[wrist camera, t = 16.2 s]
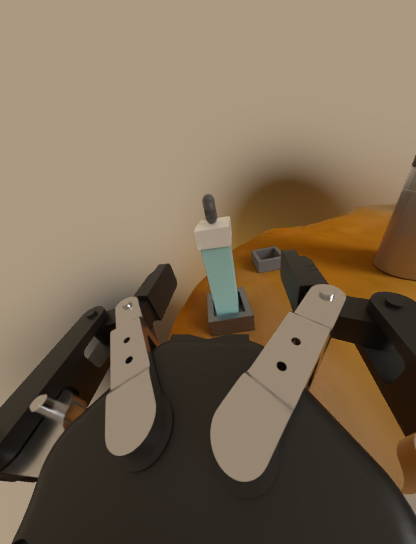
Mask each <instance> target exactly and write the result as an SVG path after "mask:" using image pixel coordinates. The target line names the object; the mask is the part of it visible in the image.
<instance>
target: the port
mask: <svg viewBox="0 0 416 544" xmlns="http://www.w3.org/2000/svg"><path fill="white" fill-rule="evenodd" d="M237 293H238V300H239V313H233V314H227V315H221V316H217V313H216V309H215V305H214V301H213V297H212V293H207V305H208V323H209V326H210V330H211V333H212V336H219V335H225V334H231V333H238V332H244V331H250V330H255V328H254V315H253V312H252V309H251V307H250V304H249V301H248V298H247V295H246V293H245V290H244V287H240V288H237Z"/></svg>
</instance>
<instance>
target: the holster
mask: <svg viewBox="0 0 416 544" xmlns="http://www.w3.org/2000/svg"><path fill="white" fill-rule="evenodd" d="M251 254H252V262H253V263H254V265H255V267H256V269H257V271H258V272H259V273H262V272H268V271H273V270H278V269H280V266H281V251H280V250H279V249H278V248H277V247H276V246H272V247H267V248H262V249H257V250H252V251H251Z"/></svg>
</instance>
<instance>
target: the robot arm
mask: <svg viewBox="0 0 416 544" xmlns="http://www.w3.org/2000/svg"><path fill="white" fill-rule="evenodd" d="M373 263H374V265H375V266H376V267H377V268H378V269H380V270H381V271H383V272H385V273H388V274H390V275H393V276H397V277H400V278H405V279H411V280H416V156H415V159H414V161H413V163H412V166H411V169H410V172H409V174H408V176H407V179H406V181H405V184H404V186H403V189H402V192H401V194H400V197H399V199H398V202H397V204H396V206H395V209H394V211H393V214H392V216H391V219H390V221H389V224H388V226H387V229H386V231H385V234H384V236H383V239H382V241H381V243H380V246H379V248H378V251H377V253H376V256H375V258H374V261H373ZM280 274H281V279H282V282H283V285H284V288H285V290H286V293H287V296H288V299H289V301H290V304H291V307H292V310H293V312H292V311H290V312H289V313H288V314H287V316H286V317H285V319H284V320H283V322H282V323H281V324H280V326H279V327H278V329H277V330H276V332H275V333H274V334H273V336H272V337H271V339H270V340H269V342H268V343H267V345H266V346H265V347H264V346H262V345H260V344H257V343H255V342H252V341H249V334H228V335H224V336H220V337H216V338H211V339H204V338H200V337H196V336H193V335H172V336H171V339H170V341H168V342H165V343H163V344H160V341H159V338H158V335H157V332H156V329H155V326H154V324H153V322H154V321H156V320H162V318H163V316H164V313H165V311H166V309H167V307H168V305H169V302H170V300H171V298H172V295H173V293H174V291H175V289H176V287H177V280H176V278H175V275H174V273H173V270H172V268H171V266H170V264H160V265H158V266H157V268H156V269H155V271H154V272H152V273H151V274H150V275H149V276H148V277H147V278H146V280H145V281H144V282H143V285H141V287H140V288H139V289H138V291H137V292H136V293H135V295H134V296H133V297H128V298H126V299H124V300H122V301H121V302H120V303H119V304H118V305H117V306H116V309H113V310H109V311H106V310H105V309H104V308H103V307H102V306H97V307H94V308H92V309H90V310H89V311H87V312H86V313H85V314H84V315H83V316H82V317H81V318H80V319H79V320H78V321H77V322H76V323H75V325H74V326H73V327H72V328H71V329H70V330H69V331H68V332H67V334H66V335H65V336H64V337H63V338H62V339H61V340H60V341H59V342H58V344H57V345H56V346H55V347H54V348H53V349H52V350H51V351H50V353H49V354H48V355H47V356H46V357H45V358H44V359H43V360H42V361H41V363H40V364H39V365H38V366H37V367H36V368H35V369H34V370H33V372H32V373H31V374H30V375H29V376H28V377H27V378H26V380H25V381H24V382H23V383H22V384H21V385H20V386H19V387H18V388H17V389H16V391H15V392H14V393H13V394H12V395H11V396H10V397H9V398H8V400H7V401H6V402H5V403H4V404H3V405H2V406H1V407H0V481H8V482H16V481H24V482H37V483H36V486H35V489H34V492H33V495H32V498H31V500H30V503H29V506H28V508H27V510H26V513H25V515H24V517H23V520H22V522H21V525H20V527H19V529H18V531H17V533H16V535H15V537H14V539H13V542H12V544H416V302H415V301H414V300H412V299H410V298H408V297H406V296H403V295H400V294H397V293H392V292H377V293H374V294H373V295H372V296H371V298H370V300H369V299H362V298H355V297H349V296H346V295H345V293H344V292H343V291H342V290H340V289H339V288H337V287H335V286H332V285H329V284H328V283H327V281H326V280H325V279H324V277H323V276H322V274H321V273H320V272H319V270H318V269H317V267H316V266H315V265H314V263H313V262H312V260H311V259H309V258H307V257H305V256H299V255H298V254H297V252H296V251H295V249H292V250H283V251H281V266H280ZM94 336H95V337H96V338H97V339H98V340H99V341H100V342H99V343H98V345H97V347H96V348H95V350H94V351H93V352H92V354H91V355H90V357H89V358H88V359H87V358H85V356H84V350H85V348H86V346H87V345H88V343H89V342H90V341H91V339H92V338H93V337H94ZM331 338H335V339H339V340H343V341H347V342H351V343H354V344H355V346H356V347H357V349H358V351H359V353H360V355H361V357H362V358H363V360H364V362H365V364H366V366H367V367H368V369H369V371H370V373H371V375H372V377H373V378H374V380H375V382H376V384H377V386H378V388H379V389H380V391H381V393H382V395H383V397H384V398H385V400H386V402H387V404H388V406H389V408H390V409H391V411H392V413H393V415H394V417H395V418H396V420H397V422H398V424H399V426H400V428H401V429H402V431H403V433H404V435H405V438H403V439H401V440H400V441H399V443H398V445H397V455H398V459H399V462H400V464H401V467H402V470H403V474H404V487H403V489H402V491H400V489H399V488H398V487H397V485H396V484H395V483H394V481H393V480H392V479H391V478H390V476H389V475H388V474H387V473H386V472H385V470H384V469H383V468H382V467H381V466H380V465H379V464H378V463H377V462H376V461H375V460H374V459H373V458H372V457H371V456H370V454H369V453H368V452H367V451H366V450H365V449H364V448H363V447H362V446H361V445H360V444H359V443H358V442H357V441H356V440H355V439H354V438H353V437H352V436H351V435H350V433H349V432H348V431H347V430H346V429H345V428H344V427H343V426H342V425H341V424H340V423H339V422H338V421H337V420H336V419H335V418H334V417H333V416H332V415H331V414H330V412H329V411H328V410H327V409H326V408H325V407H324V406H323V405H322V404H321V403H320V402H319V401H318V400H317V399H316V398H315V397H314V396H313V395H312V394H311V392H310V391H309V390H310V388H311V385H312V383H313V381H314V378H315V376H316V373H317V371H318V368H319V366H320V364H321V361H322V359H323V357H324V354H325V352H326V350H327V348H328V345H329V343H330V341H331ZM110 365H111V388H109V389H108V390H107V391H106V392H105V393H104V394H103V395H102V396H101V397H99V398H98V400H96V401H95V402H94V403H93V404H92V405H91V406H89V407H88V405H89V403H90V401H91V400H92V398H93V396H94V394H95V392H96V390H97V389H98V387H99V385H100V383H101V381H102V379H103V378H104V376H105V374H106V372H107V370H108V369H109V367H110ZM87 407H88V408H87Z"/></svg>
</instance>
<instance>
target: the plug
mask: <svg viewBox="0 0 416 544" xmlns="http://www.w3.org/2000/svg"><path fill="white" fill-rule="evenodd" d="M202 201H203V207H204V212H205V216H206V220H204V221H199V223H198V225H197V226H196V228H195V230H194V231H193V233H194V237H195V241H196V244H197V249H198V250H201V253H202V257H203V260H204V265H205V268H206V273H207V277H208V281H209V285H210V289H211V293H212V297H213V301H214V305H215V309H216V313H217V316H221V315H227V314H233V313H239V300H238V293H237V285H236V278H235V270H234V263H233V255H232V248H231V243H232V241H231V240H232V231H231V222H230V216H227V217H221V218H217V213H216V208H215V201H214V198H213V196H212V195H210V194H206V195H205V196H204V197H203V200H202Z"/></svg>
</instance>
